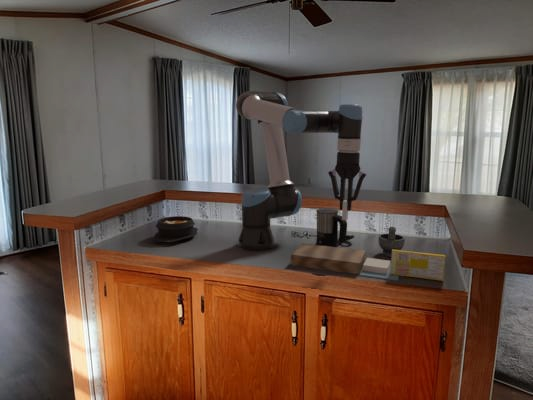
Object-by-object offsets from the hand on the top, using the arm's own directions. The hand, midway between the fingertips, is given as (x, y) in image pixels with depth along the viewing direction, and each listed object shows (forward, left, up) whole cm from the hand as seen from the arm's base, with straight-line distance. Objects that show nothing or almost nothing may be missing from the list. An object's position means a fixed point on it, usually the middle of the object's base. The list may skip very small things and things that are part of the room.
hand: (344, 219), depth 133 cm
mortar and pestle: (+15, +18, -17) cm, 29 cm away
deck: (-5, 0, -17) cm, 17 cm away
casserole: (-76, +7, -17) cm, 78 cm away
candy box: (+24, -3, -17) cm, 30 cm away
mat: (+13, 0, -17) cm, 21 cm away
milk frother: (-8, +24, -17) cm, 30 cm away
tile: (+12, 0, -16) cm, 20 cm away
